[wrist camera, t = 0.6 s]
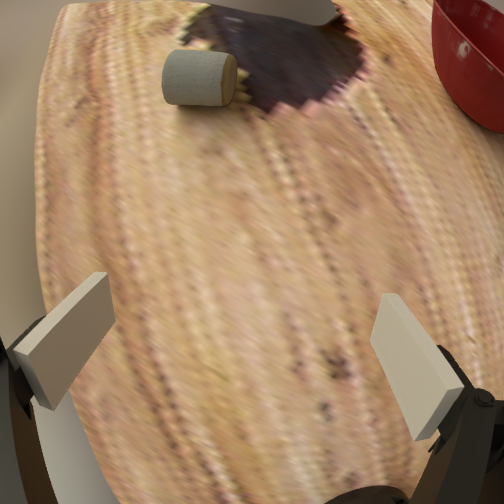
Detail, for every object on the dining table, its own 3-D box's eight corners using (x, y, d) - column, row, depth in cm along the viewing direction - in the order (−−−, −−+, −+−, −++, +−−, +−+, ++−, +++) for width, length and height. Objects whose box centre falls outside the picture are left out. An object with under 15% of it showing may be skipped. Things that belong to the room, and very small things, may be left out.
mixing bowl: (410, 129, 34) (461, 55, 19) (396, 24, 39) (417, -34, 24) (537, 190, 32) (593, 155, 17) (506, 78, 37) (538, 38, 22)
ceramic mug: (230, 118, 35) (224, 76, 28) (170, 115, 36) (153, 77, 28) (244, 65, 37) (241, 25, 30) (190, 64, 38) (180, 26, 30)
